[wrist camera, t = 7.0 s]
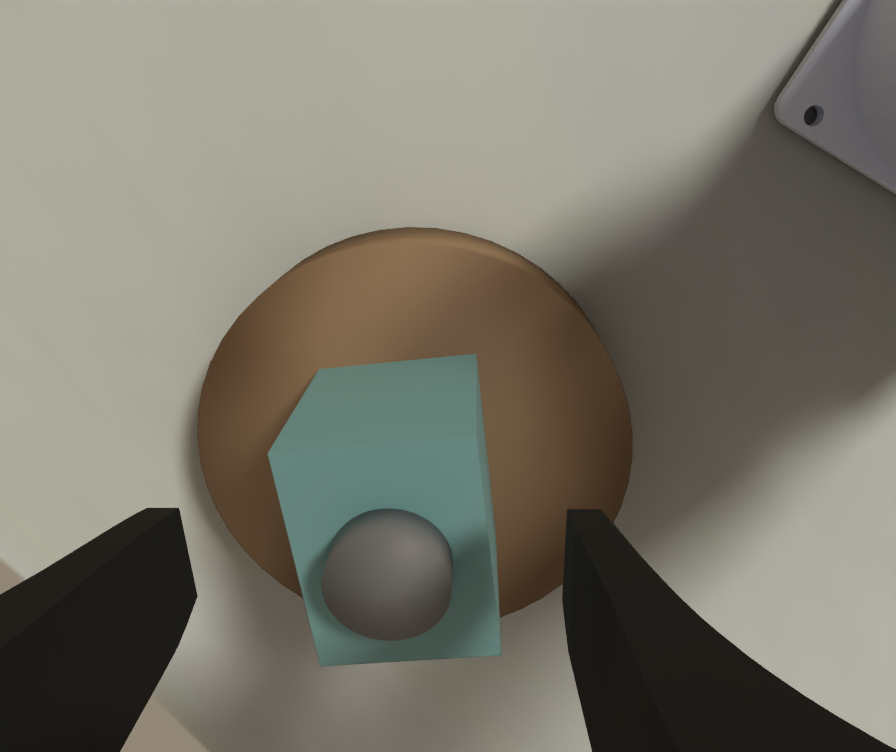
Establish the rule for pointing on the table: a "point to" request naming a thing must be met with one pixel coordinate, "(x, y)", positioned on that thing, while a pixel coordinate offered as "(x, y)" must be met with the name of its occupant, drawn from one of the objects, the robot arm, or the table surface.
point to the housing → (392, 512)
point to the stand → (420, 337)
